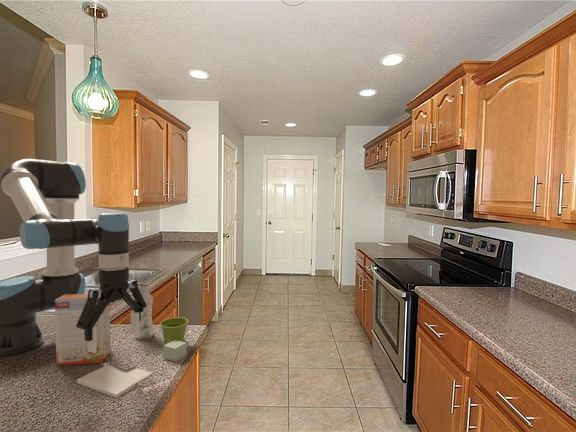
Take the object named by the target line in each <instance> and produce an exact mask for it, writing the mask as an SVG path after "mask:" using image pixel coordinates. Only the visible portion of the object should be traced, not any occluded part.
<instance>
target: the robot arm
mask: <svg viewBox="0 0 576 432" xmlns="http://www.w3.org/2000/svg"><path fill="white" fill-rule="evenodd" d="M86 185H87V184H86V176H85V173H84V171H83V169H82V167H81V166H80V165H79V164H77V163H76V162H72V161H71V162H69V161H61V160H60V161H59V160H47V159H35V158H25V159H24V158H23V159H19V160H16V161H13V162H11V163H9V164H8V165H7V166H5V168H4V169H3V170H2V171H1V173H0V188H1V190H2V191H3V193H5V195H7V196H8V197H10V198H11V199H12V200H11V201H12V202H13V204H14V206H15V209H16V210H17V212H18V213H19V215H20V217H21V220H22V221H23V222H22V223H21V224H20V227H19V240H20V243H21V246H22V247H23V249H26V250H36V249H37V250H45V249H46V267H45V269H44V270H43V271H42V272H41V278H38V279H37V278H36V277H35V276H33V275H26V276H25V275H24V276H16V277H12V278H8V279H4V280H3V281H0V357H5V356H7V357H8V356H12V355H17V354H21V353H25V352H27V351H30V350H33V349H35V348H37V347H38V346H40V345H41V344H42V343H43V339H44V338H43V333H42V331H41V329H40V326H39V325H38V323H37V313H40V312H41V313H42V312H46V311H51V310H55V299H57V298H59V297H61V296H63V295H66V294H86V293H85V292H86V278H85V275H84V274H83V273H80V269H79V268H78V267H76V266H75V246H86V245H88V246H89V245H98V268H99V270H98V282H99V289H89V290H88V292H87V294H88V299H87V301H86V304H85V306H84V308H83V311H82V313H81V316H80V318H79V320H78V323H77V325H76V327H77V328H80V329H84V335H85V341H87V351H89V352H92V353H96V352H97V333H96V328H95V327H94V326H95V324H96V322H97V321H98V319H99V318H100V316H101V314H102V313H103V311H104V310H105V308H106V306H108V305H109V304H110V303H115V302H117V301H121V300H122V301H124V303H125V304H127V305H128V306H129V308H131V310H132V311H130V334H133V335H134V334H137V335H138V334H139V322H140V320H141V312H143V310H144V309H143V308H146V306H147V305H146V303H145V301H144V299H143V297H142V294H141V292H140V290H139V288H138V286H139V283H138V281H137V280H135V279H130V269H129V265H130V259H129V255H130V253H129V252H130V251H129V249H130V247H129V244H130V243H129V239H130V235H129V234H130V233H129V232H130V224H129V215H128V214H127V213H125V212H102V213H100V214H98V217H89V218H75V204H76V202H77V201H79V200H80V195H82V194H84V193H85V192H86ZM128 290H129V291H130V292H131V293H129V292H128ZM100 295H101V296H100ZM131 295H132V296H131ZM98 297H100V298H99V299H98ZM134 299H135V301H136V302H135V301H134ZM97 300H98V301H97ZM103 300H105V301H103ZM97 302H98V303H97ZM96 303H97V305H96Z"/></svg>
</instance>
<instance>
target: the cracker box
mask: <svg viewBox="0 0 576 432" xmlns="http://www.w3.org/2000/svg"><path fill="white" fill-rule="evenodd" d="M100 296H101V295H100ZM99 298H100V297H98V299H99ZM87 299H88V293H84V294H66V295H63V296H61V297H59V298H57V299H55V309H54V310H55V311H54V316H55V318H54V319H55V353H56V354H55V357H56V358H55V361H56V362H55V363H56V365H57V366H63V365H65V366H66V365H85V364H103V363H105V357H107V355H109V354H110V353H111V352H112V350H111V349H112V348H111V346H112V345H111V313H110V312H111V307H110V306H111V305H110V304H109V305H108V306H106V308H105V310H104V311H103V313H102V314H101V316H100V318H99V319H98V321H97V322H96V324H95V326H94V327H95V328H96V333H97V352H96V353H92V352H89V351H87V341H85V335H84V329H80V328H77V327H76V325H77V323H78V320H79V318H80V316H81V313H82V311H83V308H84V306H85V304H86V301H87ZM97 301H98V300H97ZM103 301H105V300H103ZM97 303H98V302H97ZM97 303H96V305H97Z"/></svg>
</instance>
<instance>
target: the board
mask: <svg viewBox="0 0 576 432" xmlns="http://www.w3.org/2000/svg"><path fill="white" fill-rule="evenodd" d="M151 375H153V372H151V371H148V370H145V369H141V368H138V367H135V366H134V367H131V368H129V369H126V370H125V369H123V368H121V367H119V366H116V365H115V364H112V363H108V364H106V365H104V366H102V367H100V368H99V369H95V370H94V371H92V372H89V373H88V374H86V375H85V374H84V376H80V378H77V379H76V383H77V384H79V385H82V386H84V387H87V388H89V389H92V390H95V391H97V392H100V393H102V394H105V395H108V396H111V397H113V398H118V397H120V396H121V395H123V394H125V393H127V392H128V391H130V390H132V389H133V388H136V387H138V386H139V383H140V381H141V382H142V381H143V380H144V379H147V378H148V377H150V376H151Z"/></svg>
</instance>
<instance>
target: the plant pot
mask: <svg viewBox="0 0 576 432" xmlns="http://www.w3.org/2000/svg"><path fill="white" fill-rule="evenodd" d="M188 323H189V319H188V318H185V317H180V316H179V317H177V316H176V317H169V318H166V319H164V320H162V321H160V322H159V326H160V327H161V330H162V334H163V335H162V336H163V341H164V343H163V344H164V345H166V344H168V343H169V342H171V341H173V340H178V341H182V342H185V335H186V329H187V326H188Z"/></svg>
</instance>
